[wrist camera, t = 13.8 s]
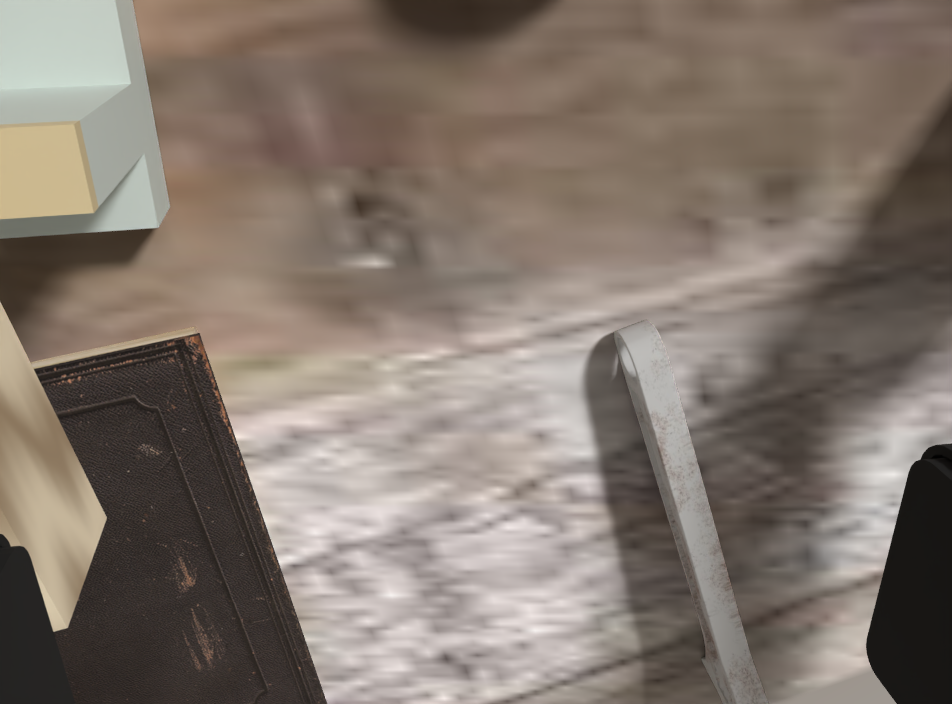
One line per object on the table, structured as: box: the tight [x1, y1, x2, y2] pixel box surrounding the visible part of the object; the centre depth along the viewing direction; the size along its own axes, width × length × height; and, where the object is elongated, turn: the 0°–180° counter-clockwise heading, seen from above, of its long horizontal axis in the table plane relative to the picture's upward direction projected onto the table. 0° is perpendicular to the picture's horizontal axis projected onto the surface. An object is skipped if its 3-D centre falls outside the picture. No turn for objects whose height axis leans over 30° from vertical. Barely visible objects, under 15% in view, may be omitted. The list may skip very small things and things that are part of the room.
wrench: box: [614, 320, 769, 704], centre depth 44 cm, size 8×2×30 cm
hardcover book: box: [30, 327, 327, 704], centre depth 40 cm, size 16×23×2 cm
